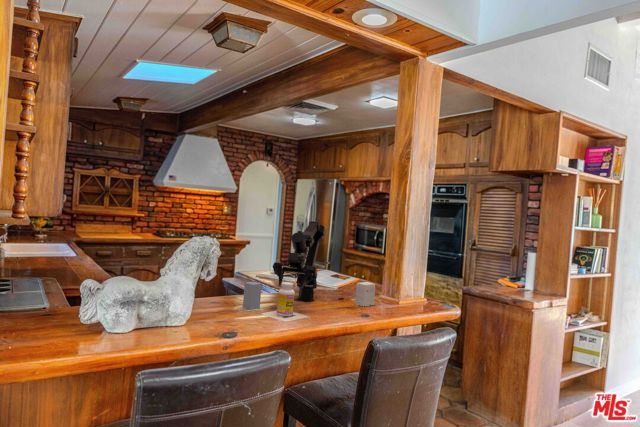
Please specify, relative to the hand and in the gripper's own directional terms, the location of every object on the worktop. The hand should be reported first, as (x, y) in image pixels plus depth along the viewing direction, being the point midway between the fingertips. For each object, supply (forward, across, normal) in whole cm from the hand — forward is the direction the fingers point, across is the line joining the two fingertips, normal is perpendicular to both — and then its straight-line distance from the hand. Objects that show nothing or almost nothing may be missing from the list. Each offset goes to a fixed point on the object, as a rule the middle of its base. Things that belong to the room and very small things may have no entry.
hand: (290, 286), depth 176 cm
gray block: (+8, -16, +8) cm, 20 cm away
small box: (-17, +28, +34) cm, 47 cm away
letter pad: (+11, 0, +5) cm, 12 cm away
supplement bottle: (+11, 0, +4) cm, 12 cm away
